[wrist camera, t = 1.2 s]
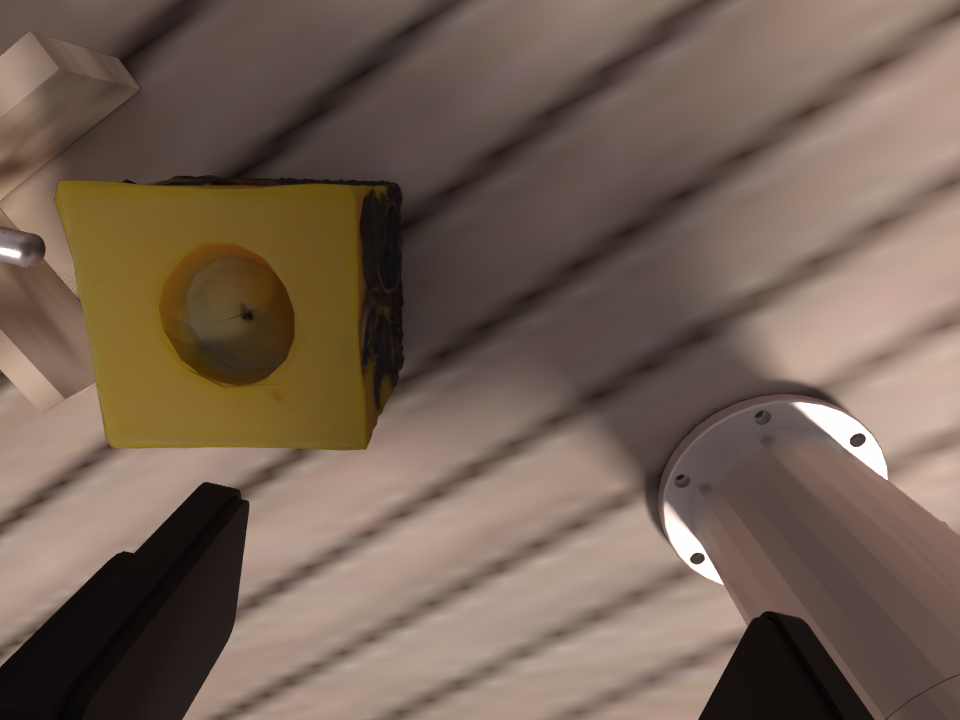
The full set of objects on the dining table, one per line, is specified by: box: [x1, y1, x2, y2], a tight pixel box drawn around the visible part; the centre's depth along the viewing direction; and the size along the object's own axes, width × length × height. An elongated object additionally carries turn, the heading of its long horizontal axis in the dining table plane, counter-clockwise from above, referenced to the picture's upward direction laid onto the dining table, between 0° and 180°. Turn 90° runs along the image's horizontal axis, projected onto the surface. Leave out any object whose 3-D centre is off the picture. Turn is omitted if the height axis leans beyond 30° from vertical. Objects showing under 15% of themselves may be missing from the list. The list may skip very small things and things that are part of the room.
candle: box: [54, 175, 404, 450], centre depth 23 cm, size 10×10×10 cm
